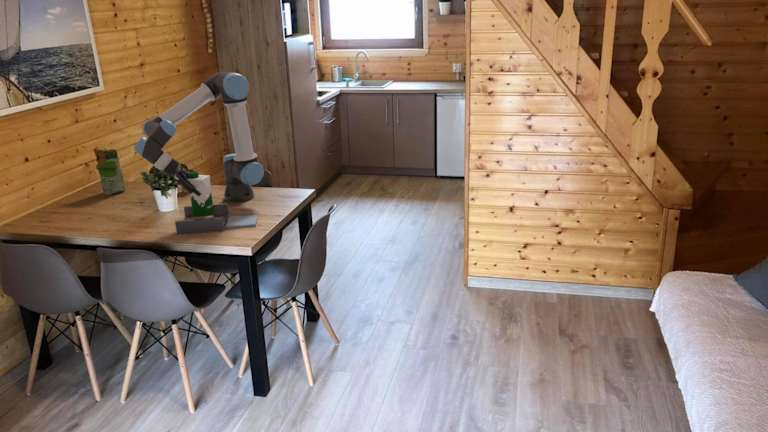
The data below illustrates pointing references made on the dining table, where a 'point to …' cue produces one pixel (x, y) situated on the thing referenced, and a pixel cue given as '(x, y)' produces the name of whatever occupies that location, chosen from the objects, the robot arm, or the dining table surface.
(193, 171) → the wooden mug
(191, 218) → the offcut stack
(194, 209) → the soya milk
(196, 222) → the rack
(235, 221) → the mat
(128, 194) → the dining table surface
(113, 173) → the pouch
